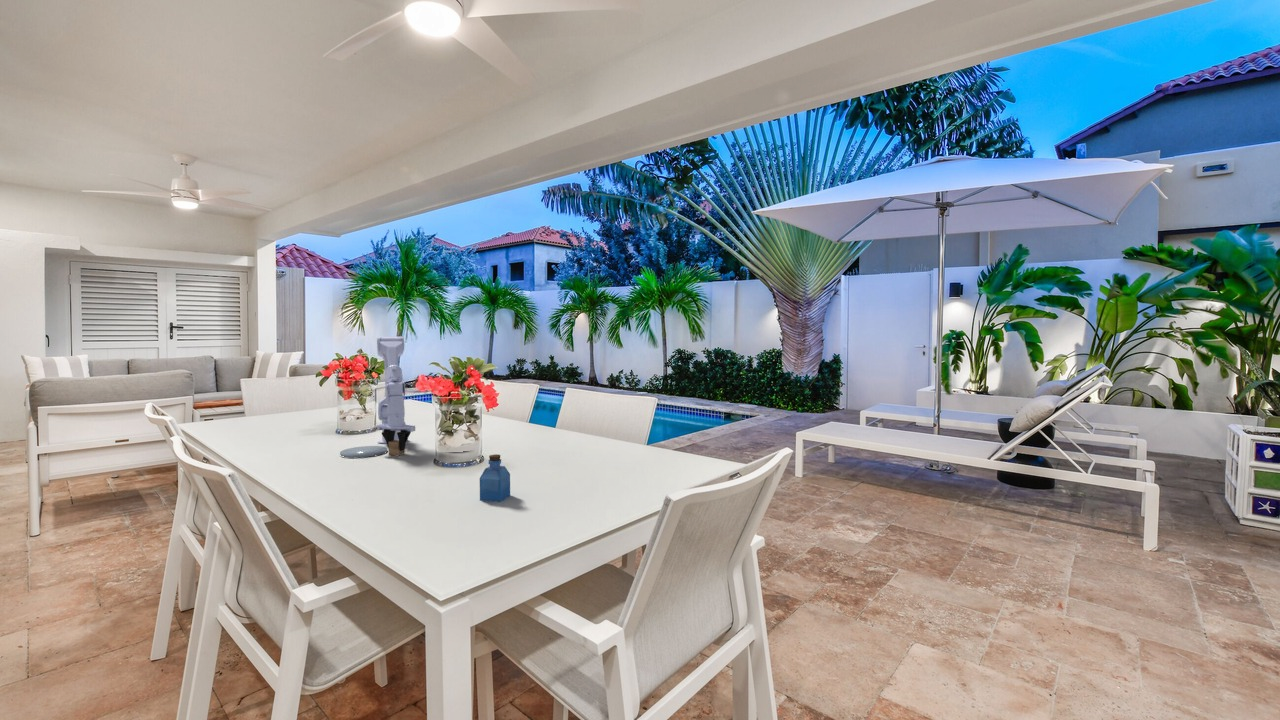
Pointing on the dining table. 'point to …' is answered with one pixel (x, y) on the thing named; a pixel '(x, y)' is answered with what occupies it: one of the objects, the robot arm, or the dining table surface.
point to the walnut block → (394, 448)
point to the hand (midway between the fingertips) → (396, 449)
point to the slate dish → (363, 451)
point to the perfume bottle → (495, 481)
